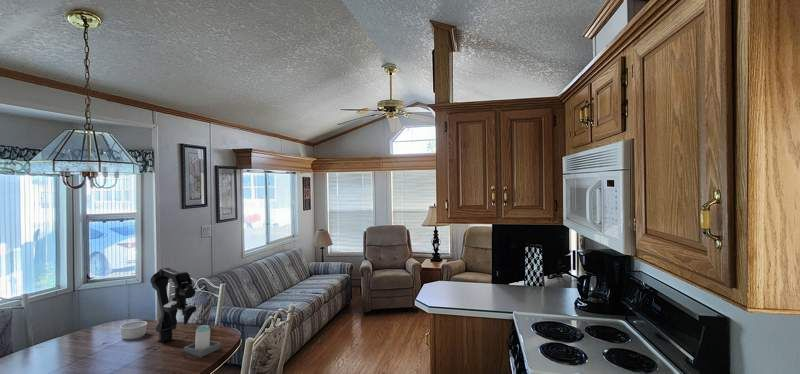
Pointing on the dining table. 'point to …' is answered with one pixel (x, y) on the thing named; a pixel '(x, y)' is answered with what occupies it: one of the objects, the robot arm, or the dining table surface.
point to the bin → (199, 353)
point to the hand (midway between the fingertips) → (179, 323)
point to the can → (202, 337)
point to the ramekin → (133, 329)
